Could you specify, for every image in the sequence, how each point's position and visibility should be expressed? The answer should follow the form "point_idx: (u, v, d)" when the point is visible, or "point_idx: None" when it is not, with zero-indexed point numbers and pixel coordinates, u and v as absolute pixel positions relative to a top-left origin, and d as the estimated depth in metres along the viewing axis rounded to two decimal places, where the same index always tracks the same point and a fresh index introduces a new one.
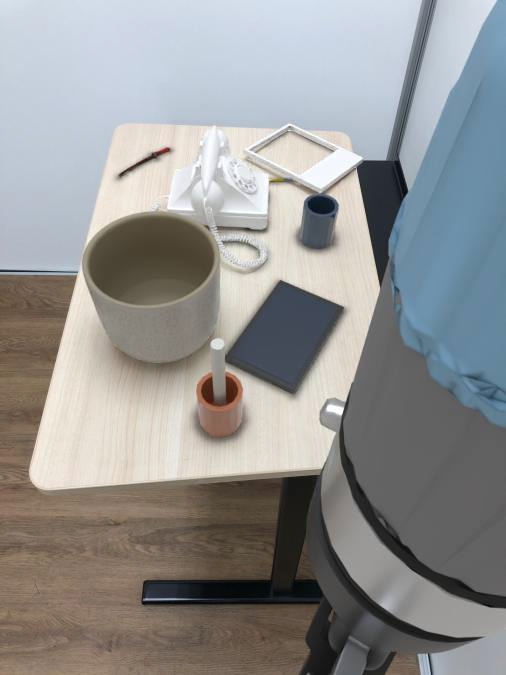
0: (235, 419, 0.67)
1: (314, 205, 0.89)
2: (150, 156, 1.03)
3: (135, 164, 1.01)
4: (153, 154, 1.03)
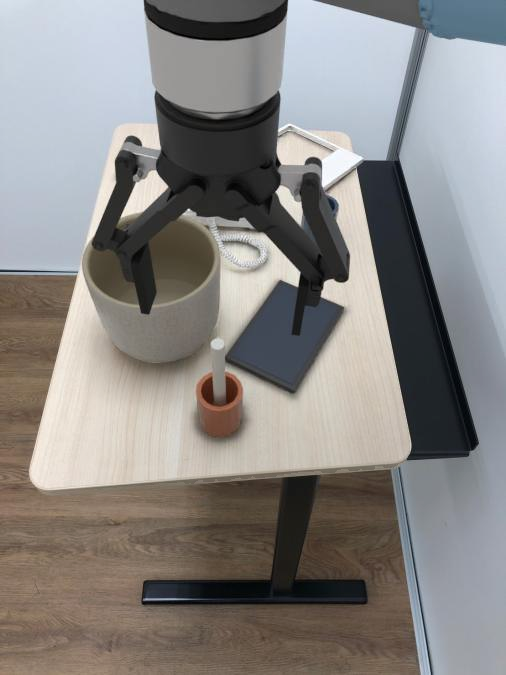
0: (235, 419, 0.67)
1: None
2: None
3: None
4: None
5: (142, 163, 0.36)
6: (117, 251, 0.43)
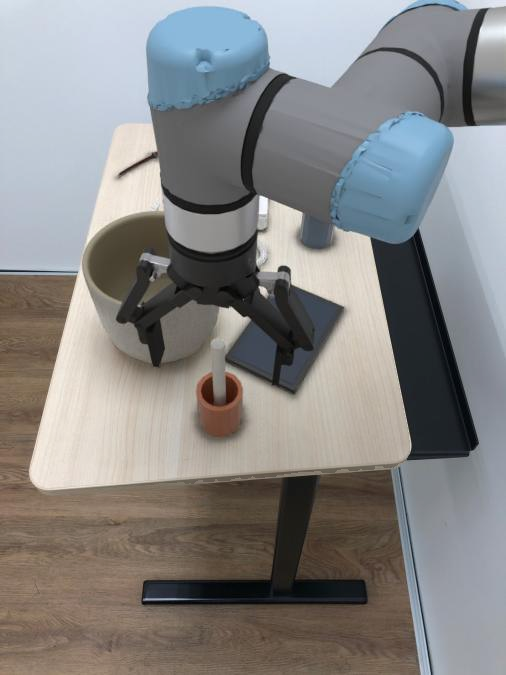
0: (235, 419, 0.67)
1: None
2: (150, 156, 1.03)
3: (135, 164, 1.01)
4: (153, 154, 1.03)
5: (156, 268, 0.49)
6: (135, 324, 0.55)
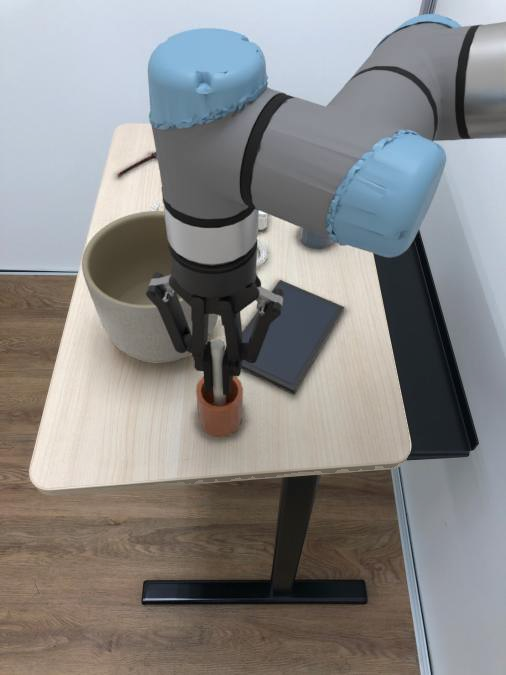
0: (235, 419, 0.67)
1: None
2: (150, 156, 1.03)
3: (134, 164, 1.01)
4: (153, 154, 1.03)
5: (164, 288, 0.51)
6: (193, 355, 0.58)
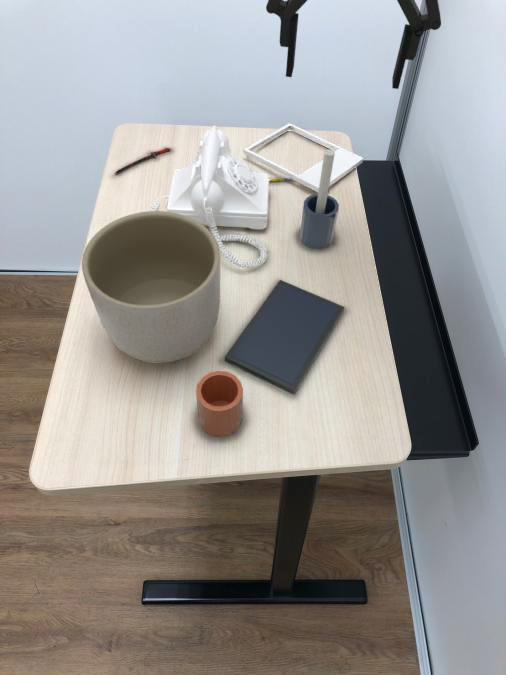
0: (235, 419, 0.67)
1: (314, 205, 0.89)
2: (149, 156, 1.03)
3: (133, 163, 1.02)
4: (152, 154, 1.03)
5: None
6: (282, 13, 0.63)
